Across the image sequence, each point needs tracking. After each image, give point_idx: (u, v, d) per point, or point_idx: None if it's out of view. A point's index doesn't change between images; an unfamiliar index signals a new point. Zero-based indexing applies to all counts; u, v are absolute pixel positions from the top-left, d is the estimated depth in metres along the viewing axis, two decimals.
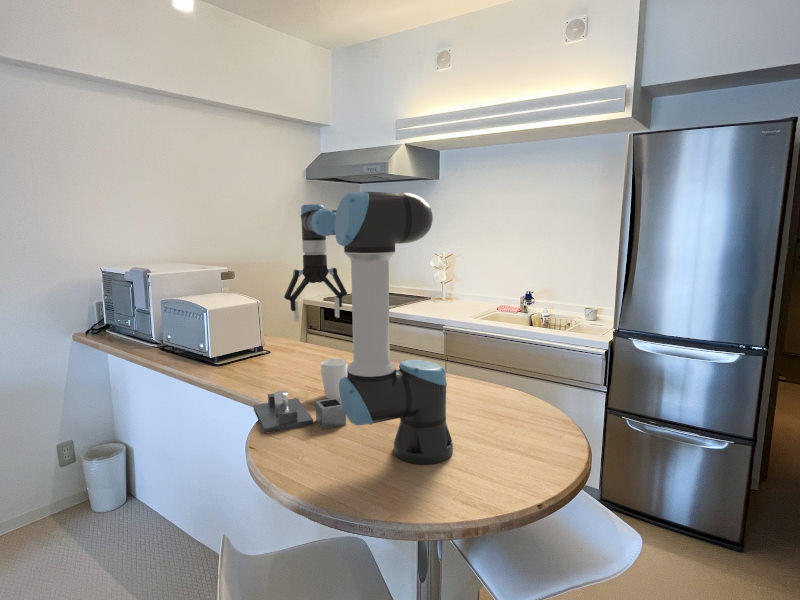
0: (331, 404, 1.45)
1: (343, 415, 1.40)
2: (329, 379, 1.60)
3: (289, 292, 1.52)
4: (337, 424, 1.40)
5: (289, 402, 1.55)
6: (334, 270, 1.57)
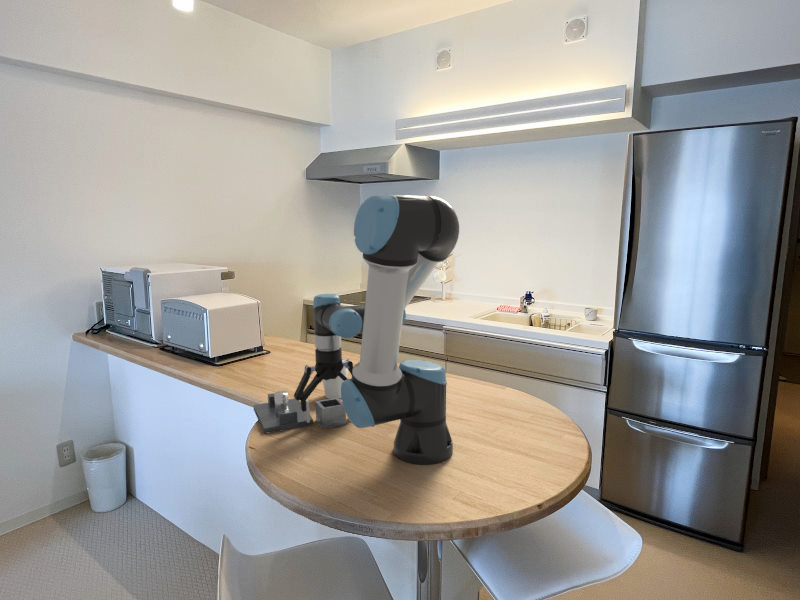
0: (331, 404, 1.45)
1: (343, 415, 1.40)
2: (329, 379, 1.60)
3: (300, 392, 1.36)
4: (337, 424, 1.40)
5: (289, 402, 1.55)
6: (350, 364, 1.42)
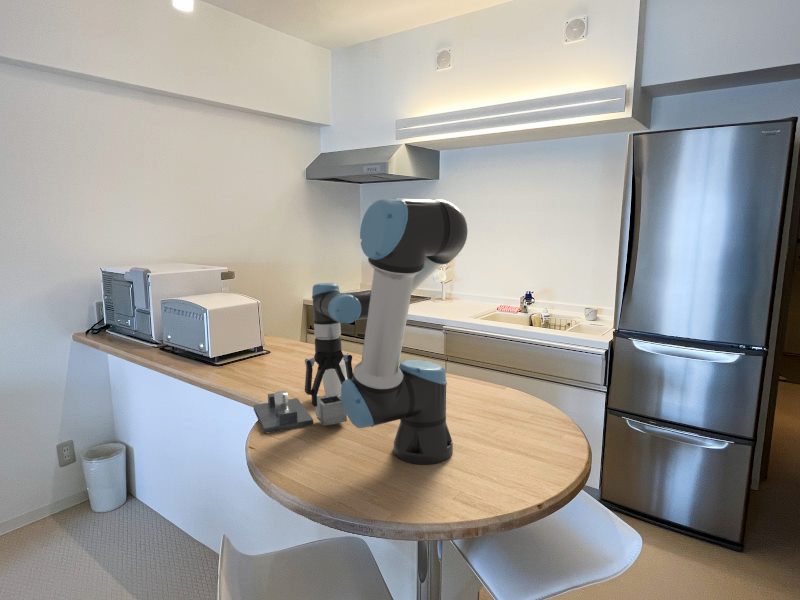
0: (331, 401, 1.44)
1: (344, 411, 1.39)
2: (329, 379, 1.60)
3: (308, 386, 1.37)
4: (338, 421, 1.39)
5: (289, 402, 1.55)
6: (349, 357, 1.41)
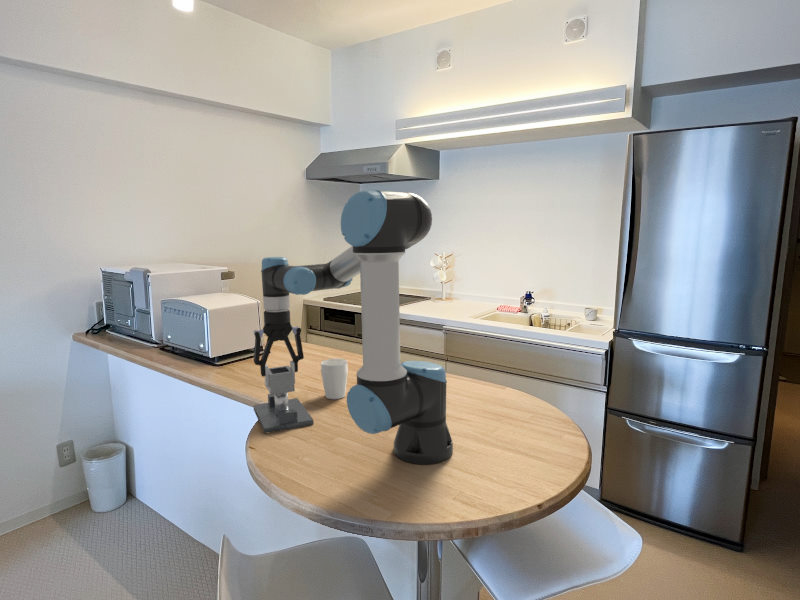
0: (281, 371, 1.48)
1: (291, 382, 1.44)
2: (329, 379, 1.60)
3: (256, 357, 1.41)
4: (285, 390, 1.44)
5: (289, 402, 1.55)
6: (298, 330, 1.45)
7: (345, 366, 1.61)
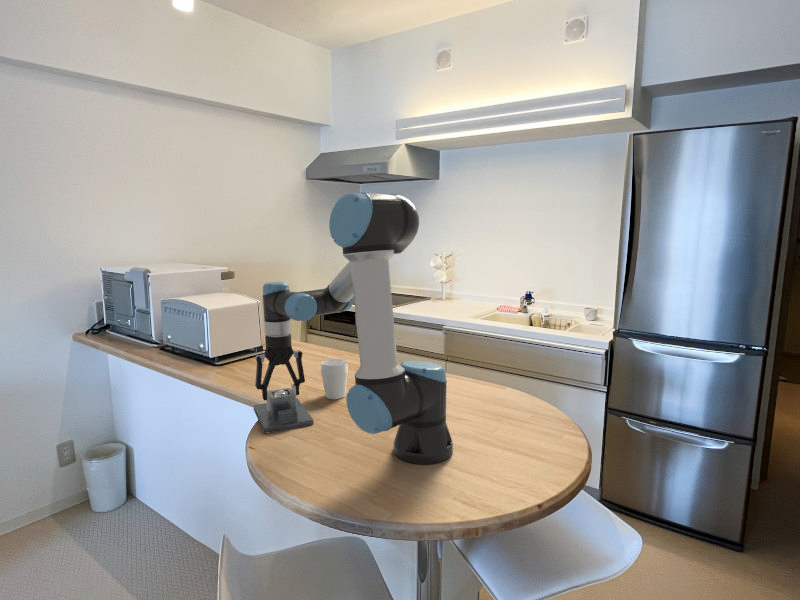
0: None
1: (293, 404, 1.45)
2: (329, 379, 1.60)
3: (258, 381, 1.42)
4: None
5: None
6: (299, 354, 1.46)
7: (345, 366, 1.61)
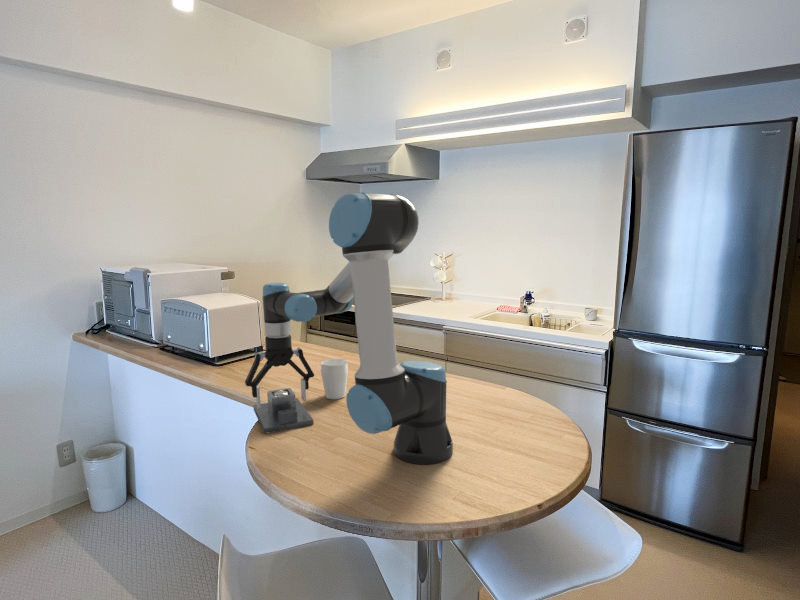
0: None
1: (293, 404, 1.45)
2: (329, 379, 1.60)
3: (250, 378, 1.41)
4: None
5: None
6: (299, 351, 1.46)
7: (345, 366, 1.61)
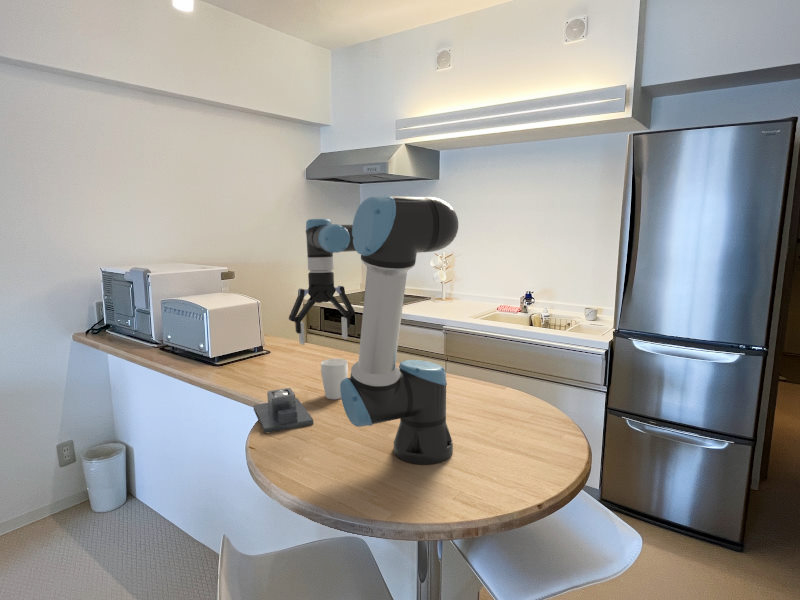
0: None
1: (293, 404, 1.45)
2: (329, 379, 1.60)
3: (294, 313, 1.41)
4: None
5: None
6: (341, 288, 1.47)
7: (345, 366, 1.61)
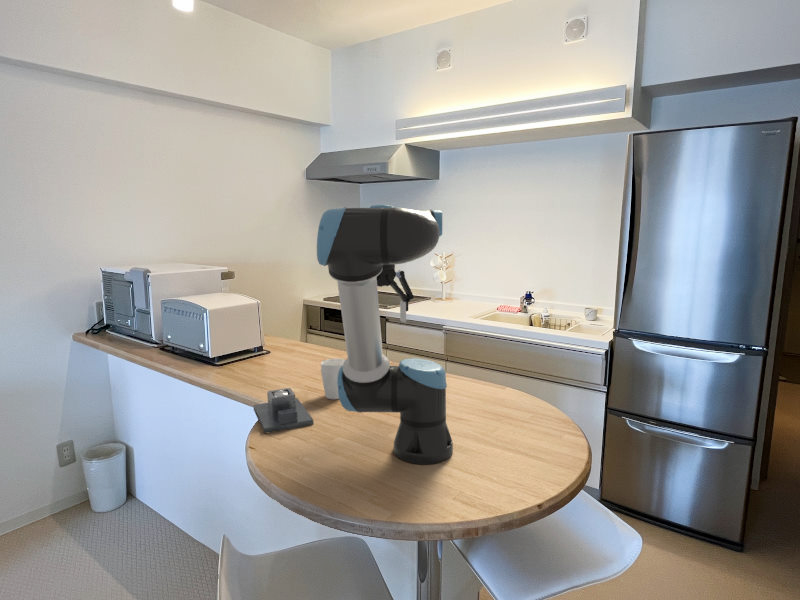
0: None
1: (293, 404, 1.45)
2: (329, 379, 1.60)
3: None
4: None
5: None
6: (402, 273, 1.51)
7: None
